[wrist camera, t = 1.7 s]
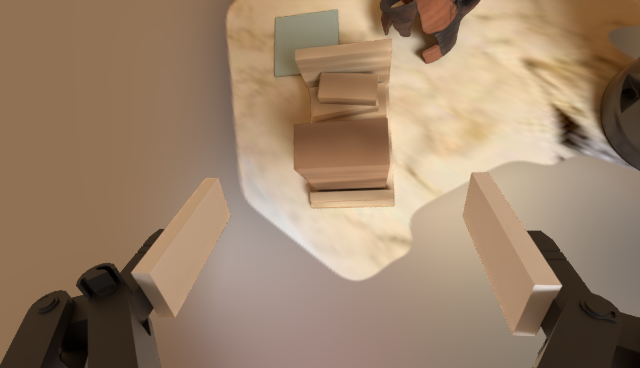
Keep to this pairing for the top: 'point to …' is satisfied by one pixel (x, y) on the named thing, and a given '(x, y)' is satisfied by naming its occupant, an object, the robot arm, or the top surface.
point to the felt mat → (302, 37)
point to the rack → (349, 104)
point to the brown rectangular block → (343, 154)
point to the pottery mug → (428, 21)
